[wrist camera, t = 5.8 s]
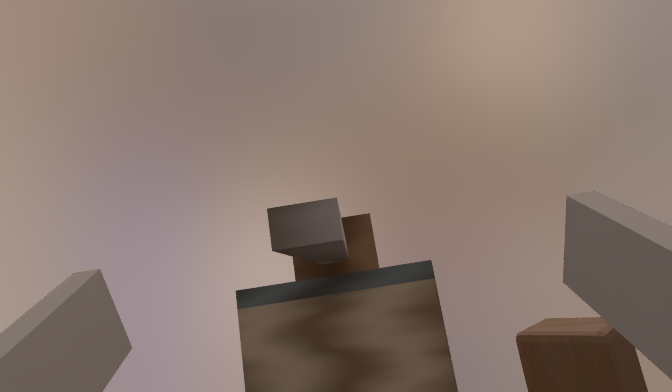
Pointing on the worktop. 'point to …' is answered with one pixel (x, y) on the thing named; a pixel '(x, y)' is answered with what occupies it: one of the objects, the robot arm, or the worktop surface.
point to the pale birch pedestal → (347, 333)
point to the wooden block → (578, 357)
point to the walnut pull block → (322, 239)
